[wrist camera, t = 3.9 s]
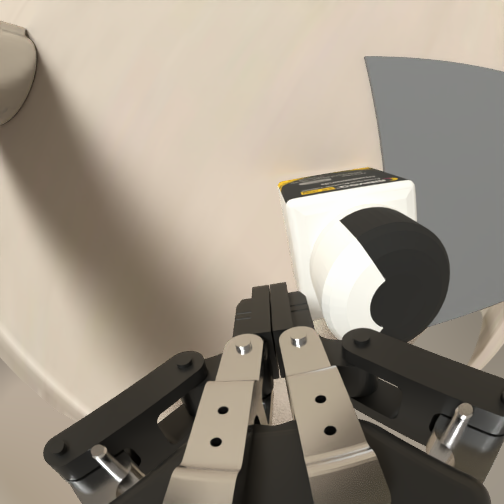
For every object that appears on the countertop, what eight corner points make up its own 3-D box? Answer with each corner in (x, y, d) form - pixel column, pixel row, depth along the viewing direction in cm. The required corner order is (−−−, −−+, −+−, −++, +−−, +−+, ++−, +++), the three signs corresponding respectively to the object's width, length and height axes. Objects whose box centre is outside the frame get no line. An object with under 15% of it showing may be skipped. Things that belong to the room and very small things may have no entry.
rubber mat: (363, 57, 17) (365, 56, 17) (506, 73, 16) (507, 72, 16) (385, 336, 26) (386, 338, 25) (504, 298, 24) (505, 300, 24)
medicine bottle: (370, 166, 20) (472, 200, 9) (378, 255, 23) (456, 345, 12) (276, 181, 21) (297, 232, 10) (292, 272, 23) (319, 385, 12)
